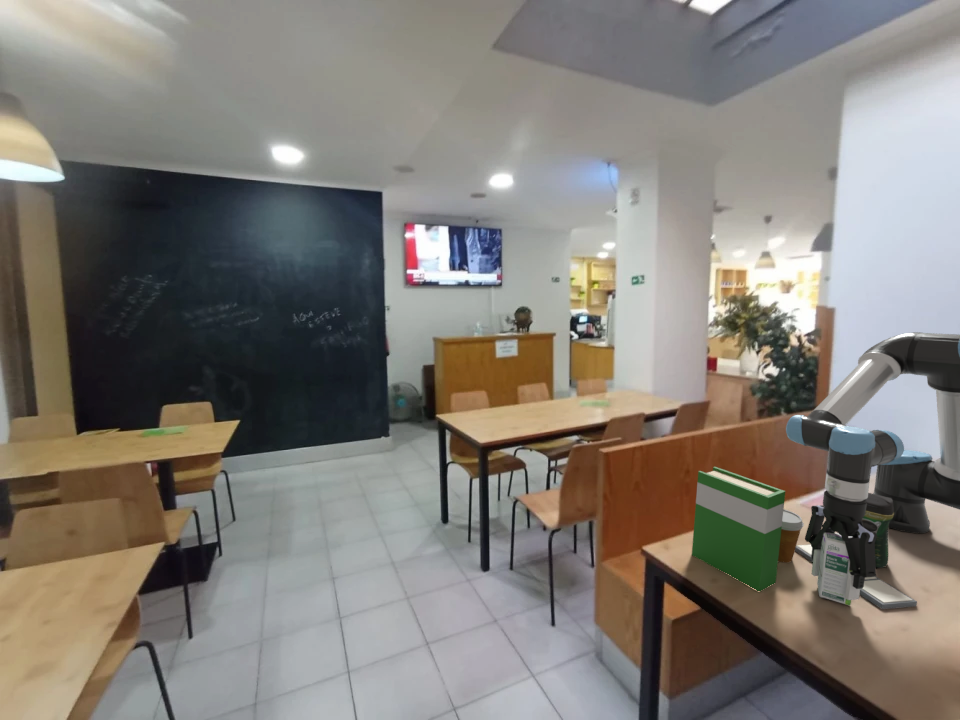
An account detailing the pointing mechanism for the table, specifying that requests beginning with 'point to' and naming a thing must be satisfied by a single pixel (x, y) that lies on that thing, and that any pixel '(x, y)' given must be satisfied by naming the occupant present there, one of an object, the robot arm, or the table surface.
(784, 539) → the disposable coffee cup
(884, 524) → the coffee jar
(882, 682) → the table surface
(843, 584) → the syrup box
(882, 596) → the board
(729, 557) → the hardback book
